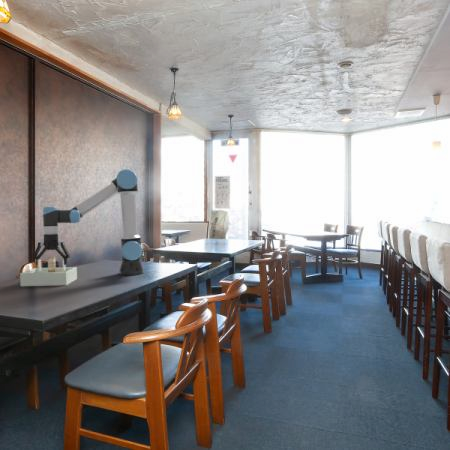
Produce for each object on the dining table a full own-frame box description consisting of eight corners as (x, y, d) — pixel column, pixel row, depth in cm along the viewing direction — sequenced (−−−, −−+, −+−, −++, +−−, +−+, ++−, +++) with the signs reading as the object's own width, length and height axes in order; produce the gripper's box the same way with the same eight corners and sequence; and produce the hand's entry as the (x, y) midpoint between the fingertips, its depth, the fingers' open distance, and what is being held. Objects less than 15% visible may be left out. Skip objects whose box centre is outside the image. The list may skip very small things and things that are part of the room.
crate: (77, 278, 219) (76, 267, 219) (66, 285, 201) (66, 272, 201) (35, 279, 217) (34, 268, 217) (20, 286, 200) (20, 273, 199)
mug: (55, 279, 220) (55, 263, 220) (38, 278, 223) (38, 263, 222) (66, 276, 229) (65, 261, 229) (49, 275, 232) (49, 261, 232)
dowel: (54, 282, 211) (53, 257, 210) (47, 282, 210) (46, 257, 210) (57, 280, 215) (56, 256, 214) (50, 280, 214) (49, 256, 214)
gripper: (75, 232, 216) (76, 269, 217) (31, 233, 214) (32, 269, 215) (71, 233, 208) (72, 271, 209) (25, 234, 207) (26, 272, 207)
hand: (51, 270), depth 212 cm, fingers open, 13 cm apart
